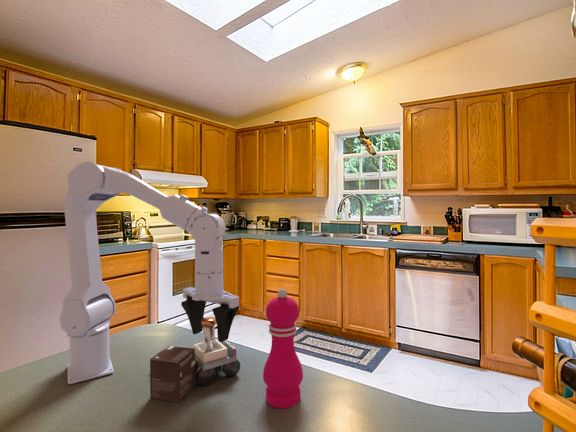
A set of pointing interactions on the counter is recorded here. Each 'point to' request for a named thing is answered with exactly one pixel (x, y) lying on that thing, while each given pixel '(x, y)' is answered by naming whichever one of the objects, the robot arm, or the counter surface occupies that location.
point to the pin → (208, 334)
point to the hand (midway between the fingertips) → (210, 336)
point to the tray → (206, 357)
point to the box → (172, 373)
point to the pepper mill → (282, 353)
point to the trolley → (228, 365)
